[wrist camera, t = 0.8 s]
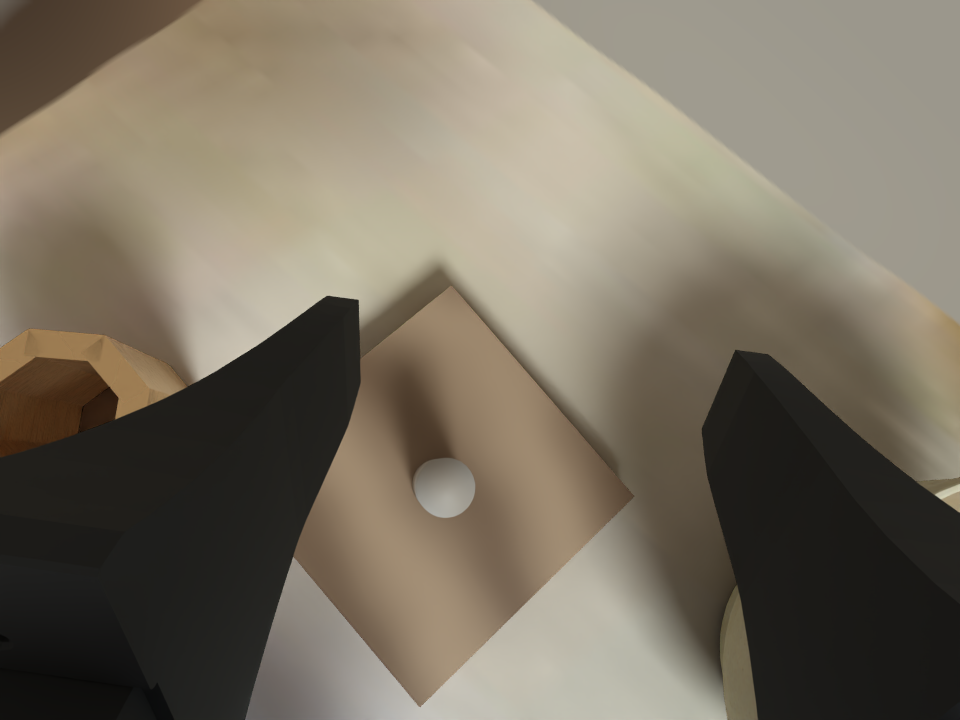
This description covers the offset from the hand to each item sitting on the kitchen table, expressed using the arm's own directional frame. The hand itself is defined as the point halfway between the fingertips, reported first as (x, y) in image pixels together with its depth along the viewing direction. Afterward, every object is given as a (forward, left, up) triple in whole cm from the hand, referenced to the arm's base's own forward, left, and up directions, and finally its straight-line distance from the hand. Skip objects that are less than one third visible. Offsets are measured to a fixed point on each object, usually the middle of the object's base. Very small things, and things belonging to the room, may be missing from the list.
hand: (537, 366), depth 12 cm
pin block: (-2, -1, -16) cm, 16 cm away
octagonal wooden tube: (-10, +9, -16) cm, 21 cm away
